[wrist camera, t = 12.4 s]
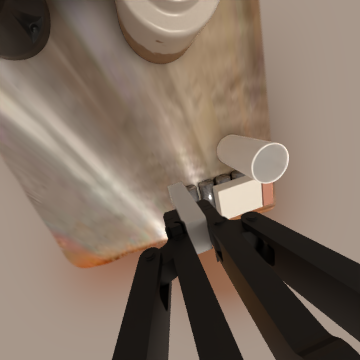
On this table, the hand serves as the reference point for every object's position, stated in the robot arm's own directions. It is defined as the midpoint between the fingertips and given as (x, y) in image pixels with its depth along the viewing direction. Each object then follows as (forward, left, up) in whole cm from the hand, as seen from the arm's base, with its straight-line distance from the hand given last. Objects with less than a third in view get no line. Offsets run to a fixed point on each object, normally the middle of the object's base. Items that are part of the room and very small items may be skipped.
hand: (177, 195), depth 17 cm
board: (+18, -18, -24) cm, 35 cm away
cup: (+20, -6, -29) cm, 36 cm away
